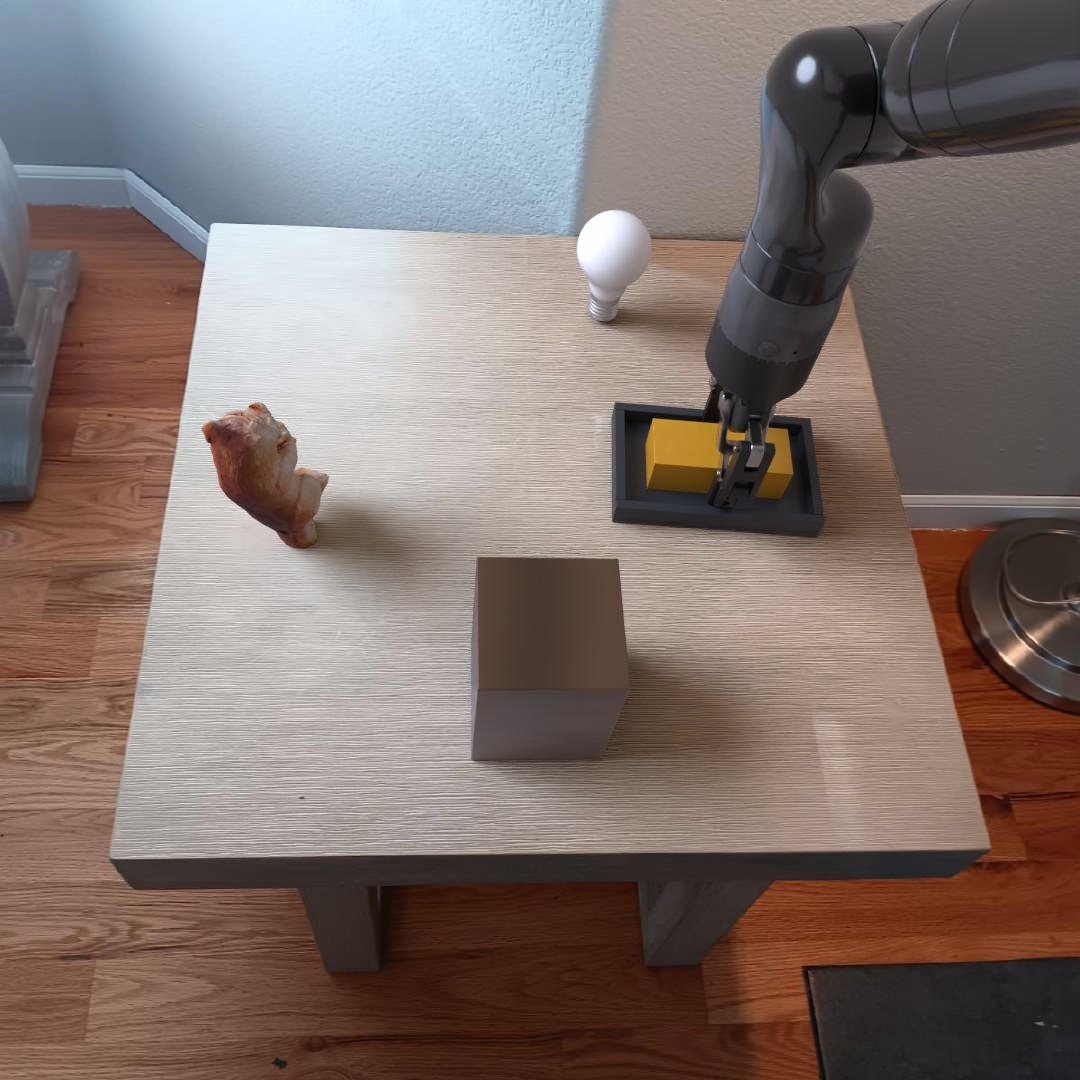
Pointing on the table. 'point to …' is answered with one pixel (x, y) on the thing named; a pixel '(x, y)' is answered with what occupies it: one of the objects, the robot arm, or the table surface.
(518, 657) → the stand
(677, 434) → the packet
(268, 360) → the table surface
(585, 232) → the lightbulb
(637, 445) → the tray
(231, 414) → the figurine
